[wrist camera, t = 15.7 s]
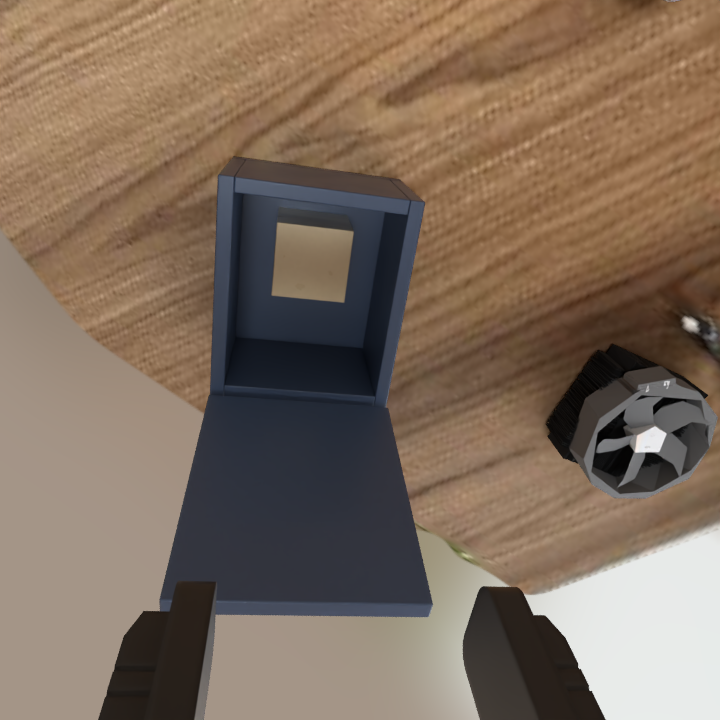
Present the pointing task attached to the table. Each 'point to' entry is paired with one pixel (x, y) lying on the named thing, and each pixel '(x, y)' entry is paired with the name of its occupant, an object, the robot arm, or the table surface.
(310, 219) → the block
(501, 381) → the table surface
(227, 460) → the lid
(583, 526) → the table surface
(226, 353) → the chest
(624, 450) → the cpu cooler
